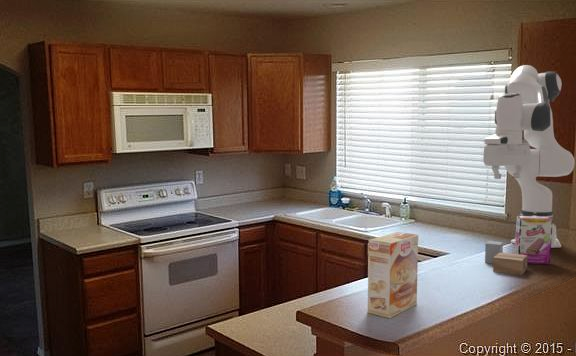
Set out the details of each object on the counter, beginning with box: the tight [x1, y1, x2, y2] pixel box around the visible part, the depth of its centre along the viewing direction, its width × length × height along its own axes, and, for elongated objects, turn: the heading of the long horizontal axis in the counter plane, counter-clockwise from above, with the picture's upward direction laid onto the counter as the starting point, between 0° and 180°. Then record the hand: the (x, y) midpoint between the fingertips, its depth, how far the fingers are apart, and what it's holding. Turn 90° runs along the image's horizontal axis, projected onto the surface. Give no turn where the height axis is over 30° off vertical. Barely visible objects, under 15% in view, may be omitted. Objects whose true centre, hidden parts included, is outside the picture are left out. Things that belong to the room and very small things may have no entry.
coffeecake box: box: [366, 231, 419, 319], centre depth 149 cm, size 15×7×20 cm, turn 139°
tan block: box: [492, 252, 528, 276], centre depth 190 cm, size 9×9×5 cm
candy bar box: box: [514, 215, 554, 265], centre depth 199 cm, size 11×5×16 cm, turn 84°
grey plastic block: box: [484, 240, 504, 265], centre depth 201 cm, size 5×5×7 cm
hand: (507, 178), depth 199 cm, fingers open, 8 cm apart
